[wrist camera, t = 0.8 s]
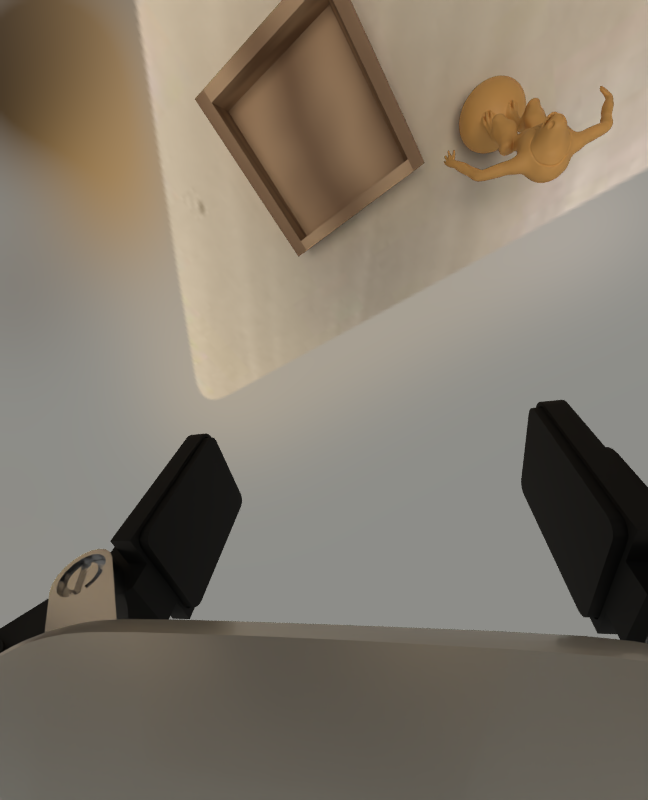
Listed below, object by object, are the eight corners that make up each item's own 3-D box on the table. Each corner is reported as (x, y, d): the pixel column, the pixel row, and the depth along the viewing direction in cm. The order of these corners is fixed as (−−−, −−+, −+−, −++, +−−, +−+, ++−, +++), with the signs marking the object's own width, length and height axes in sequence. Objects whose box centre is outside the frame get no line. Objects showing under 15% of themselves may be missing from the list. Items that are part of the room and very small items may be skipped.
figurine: (546, 56, 23) (685, -53, 12) (550, 160, 25) (668, 141, 15) (418, 115, 25) (448, 65, 15) (435, 205, 28) (469, 214, 17)
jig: (335, -13, 22) (327, -51, 19) (418, 166, 26) (424, 162, 23) (219, 111, 26) (194, 98, 23) (307, 248, 31) (298, 256, 27)
